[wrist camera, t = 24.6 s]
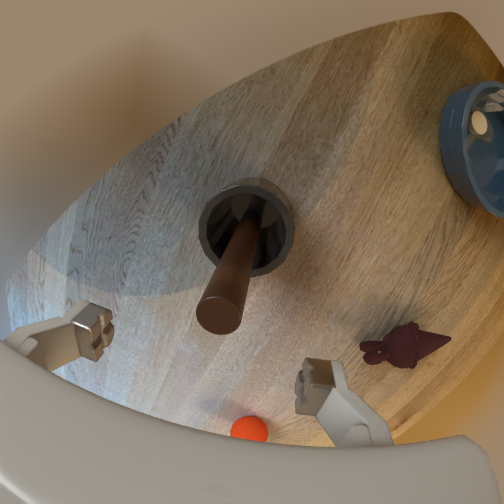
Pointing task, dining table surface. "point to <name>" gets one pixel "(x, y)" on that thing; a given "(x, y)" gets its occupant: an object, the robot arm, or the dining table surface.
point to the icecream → (403, 346)
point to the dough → (477, 123)
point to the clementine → (250, 429)
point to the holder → (231, 211)
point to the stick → (230, 279)
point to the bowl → (475, 146)
